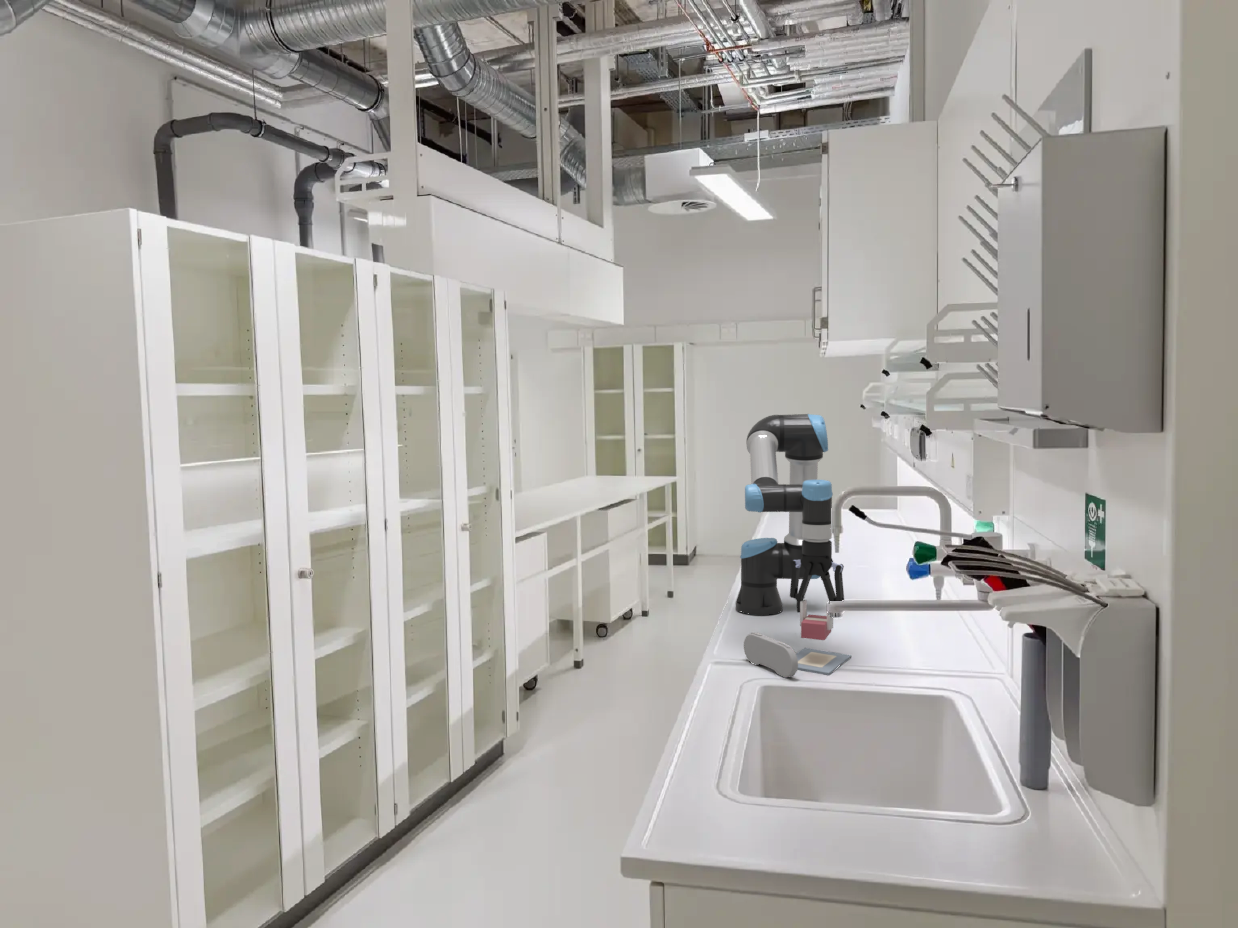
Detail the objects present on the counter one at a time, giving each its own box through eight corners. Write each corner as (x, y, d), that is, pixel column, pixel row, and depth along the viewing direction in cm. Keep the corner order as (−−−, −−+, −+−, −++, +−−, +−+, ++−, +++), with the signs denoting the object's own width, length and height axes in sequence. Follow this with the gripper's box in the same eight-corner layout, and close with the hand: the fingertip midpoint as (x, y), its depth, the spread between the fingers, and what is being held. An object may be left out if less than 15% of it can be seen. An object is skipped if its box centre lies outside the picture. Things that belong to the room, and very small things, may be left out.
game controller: (799, 680, 204) (799, 647, 203) (791, 681, 203) (791, 648, 202) (750, 659, 221) (750, 628, 220) (743, 660, 220) (743, 629, 219)
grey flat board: (804, 649, 228) (804, 647, 228) (851, 657, 221) (851, 654, 221) (780, 666, 214) (780, 664, 214) (828, 675, 207) (828, 672, 207)
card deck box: (801, 637, 214) (801, 622, 214) (808, 629, 222) (808, 614, 222) (824, 640, 211) (824, 624, 211) (831, 631, 220) (831, 616, 219)
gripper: (858, 540, 213) (858, 628, 214) (787, 534, 224) (787, 618, 225) (848, 544, 206) (848, 635, 208) (775, 538, 217) (775, 625, 219)
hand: (816, 626), depth 217 cm, fingers closed on card deck box, 6 cm apart
